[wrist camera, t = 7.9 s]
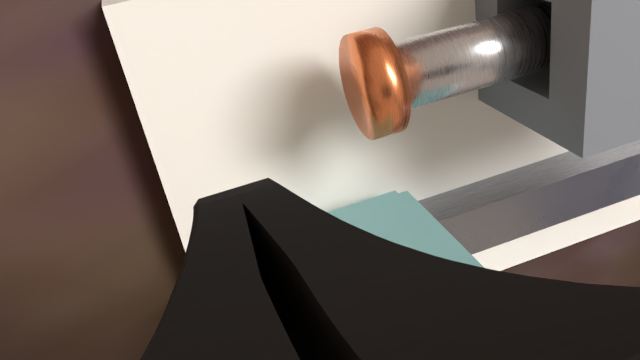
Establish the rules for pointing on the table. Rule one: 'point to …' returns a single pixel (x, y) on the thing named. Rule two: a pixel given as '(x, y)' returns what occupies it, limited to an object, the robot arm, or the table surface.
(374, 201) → the block
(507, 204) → the rail
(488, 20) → the gauge plunger
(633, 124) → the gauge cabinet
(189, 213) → the base board
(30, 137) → the table surface
